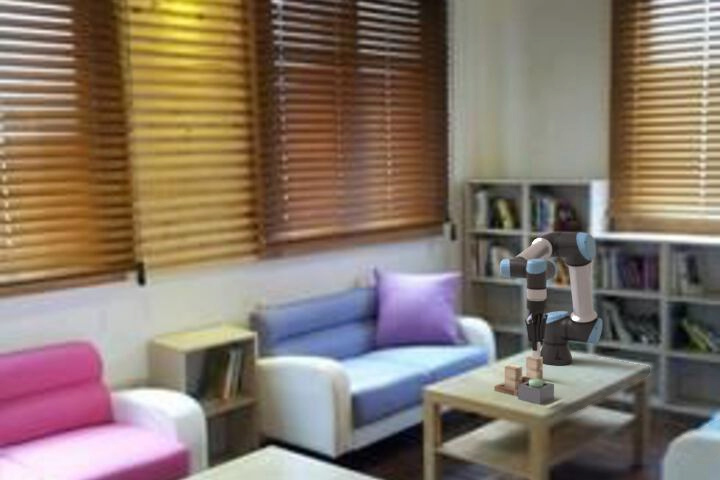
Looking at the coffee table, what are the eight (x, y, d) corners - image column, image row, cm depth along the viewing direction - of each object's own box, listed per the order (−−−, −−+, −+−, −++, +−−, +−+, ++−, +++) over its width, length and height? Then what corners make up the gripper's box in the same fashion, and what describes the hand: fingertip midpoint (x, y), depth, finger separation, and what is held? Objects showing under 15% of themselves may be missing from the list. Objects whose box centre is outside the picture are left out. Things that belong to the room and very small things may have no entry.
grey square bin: (532, 396, 334) (532, 379, 333) (553, 401, 327) (554, 384, 326) (518, 402, 327) (518, 384, 326) (539, 407, 320) (540, 389, 319)
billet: (532, 377, 360) (532, 355, 359) (542, 380, 356) (542, 357, 355) (526, 380, 356) (526, 357, 355) (536, 382, 353) (536, 359, 352)
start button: (533, 385, 330) (533, 377, 330) (546, 387, 326) (546, 380, 326) (526, 388, 326) (526, 380, 326) (538, 391, 322) (538, 383, 322)
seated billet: (511, 387, 342) (511, 364, 341) (521, 390, 338) (522, 366, 337) (504, 390, 338) (504, 366, 337) (514, 393, 335) (514, 368, 334)
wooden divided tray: (522, 383, 352) (522, 375, 352) (544, 388, 345) (544, 380, 344) (494, 393, 338) (494, 386, 338) (517, 399, 331) (517, 391, 330)
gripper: (537, 295, 329) (537, 353, 332) (518, 300, 320) (518, 360, 323) (554, 297, 324) (553, 356, 327) (535, 302, 315) (535, 363, 318)
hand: (536, 358), depth 325 cm, fingers closed
